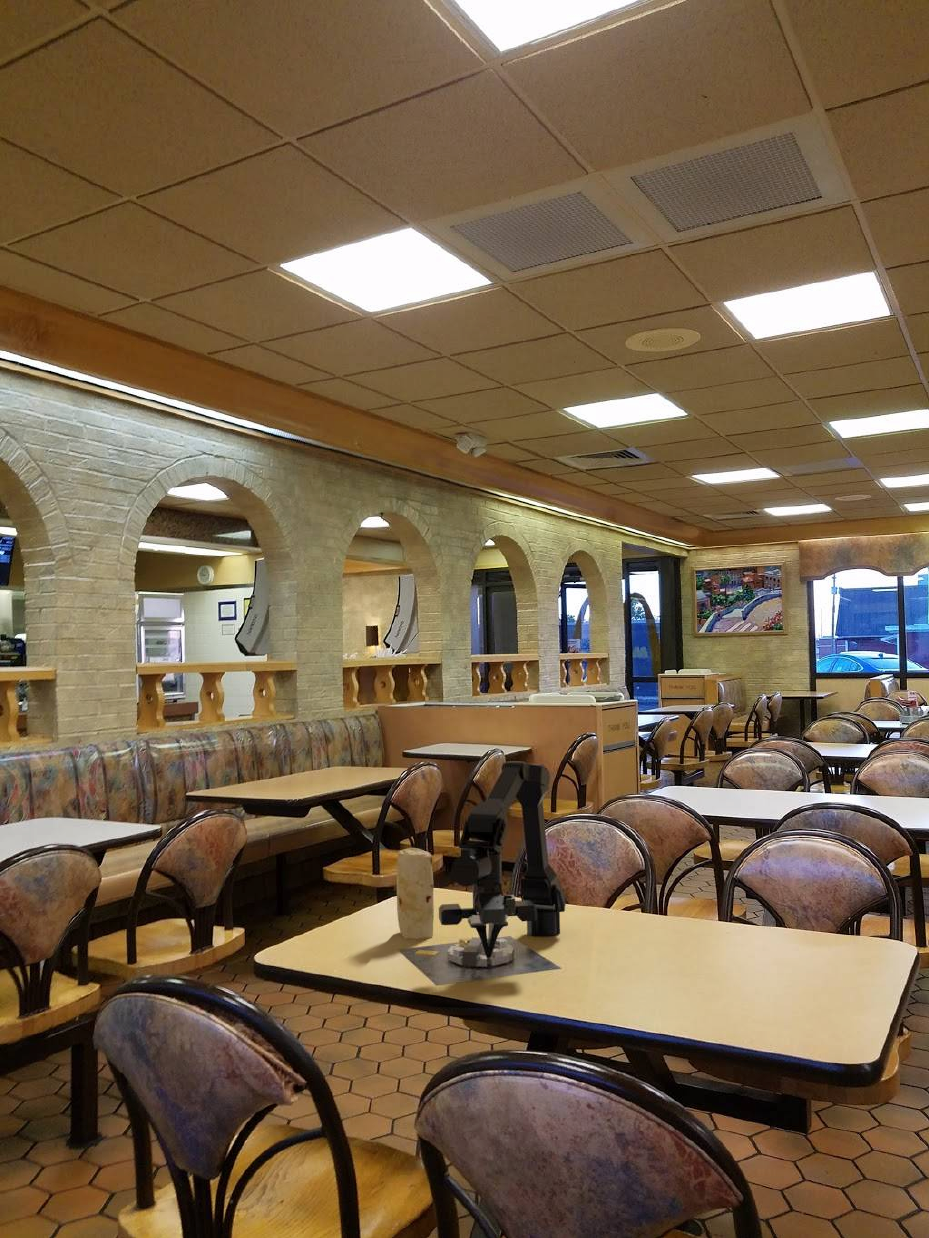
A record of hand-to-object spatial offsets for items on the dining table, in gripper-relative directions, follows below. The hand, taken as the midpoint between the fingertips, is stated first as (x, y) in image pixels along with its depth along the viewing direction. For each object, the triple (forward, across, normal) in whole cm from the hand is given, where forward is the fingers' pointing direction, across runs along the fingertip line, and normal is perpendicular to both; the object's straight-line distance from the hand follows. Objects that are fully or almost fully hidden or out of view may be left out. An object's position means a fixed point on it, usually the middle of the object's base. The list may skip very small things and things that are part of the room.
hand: (488, 957), depth 190 cm
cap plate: (+4, -1, +10) cm, 11 cm away
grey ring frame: (+3, -1, +7) cm, 7 cm away
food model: (+4, -12, +31) cm, 34 cm away
